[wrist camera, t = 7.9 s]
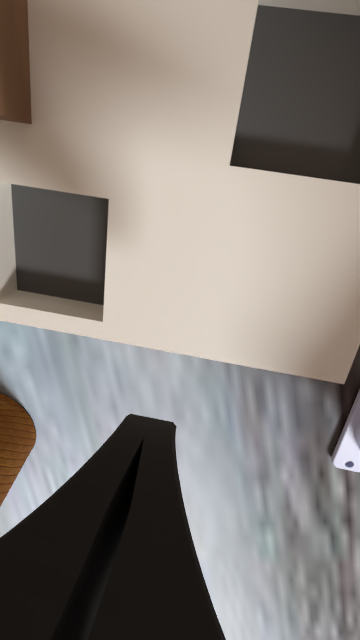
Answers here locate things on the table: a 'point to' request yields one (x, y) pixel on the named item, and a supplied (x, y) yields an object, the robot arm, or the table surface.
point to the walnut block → (14, 62)
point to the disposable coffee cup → (13, 441)
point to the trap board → (190, 180)
